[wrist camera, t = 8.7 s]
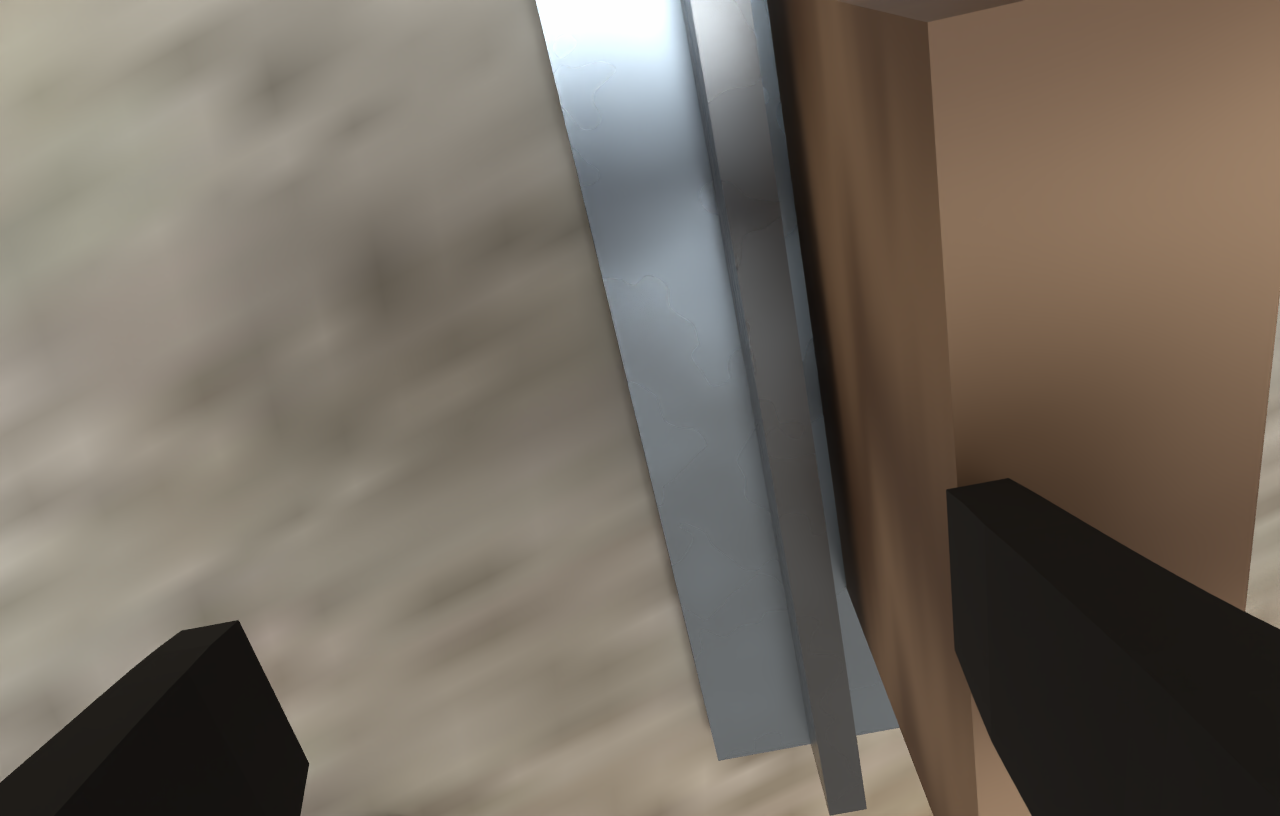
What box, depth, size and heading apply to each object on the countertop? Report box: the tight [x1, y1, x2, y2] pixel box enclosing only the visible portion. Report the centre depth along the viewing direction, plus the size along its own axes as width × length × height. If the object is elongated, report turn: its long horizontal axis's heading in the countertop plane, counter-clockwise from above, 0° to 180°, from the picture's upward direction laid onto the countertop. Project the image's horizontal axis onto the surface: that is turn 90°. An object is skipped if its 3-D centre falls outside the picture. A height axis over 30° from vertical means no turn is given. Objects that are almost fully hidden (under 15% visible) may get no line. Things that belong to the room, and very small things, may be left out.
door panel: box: [767, 0, 1280, 816], centre depth 13 cm, size 12×3×8 cm, turn 12°
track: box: [536, 0, 900, 815], centre depth 17 cm, size 20×10×3 cm, turn 12°
